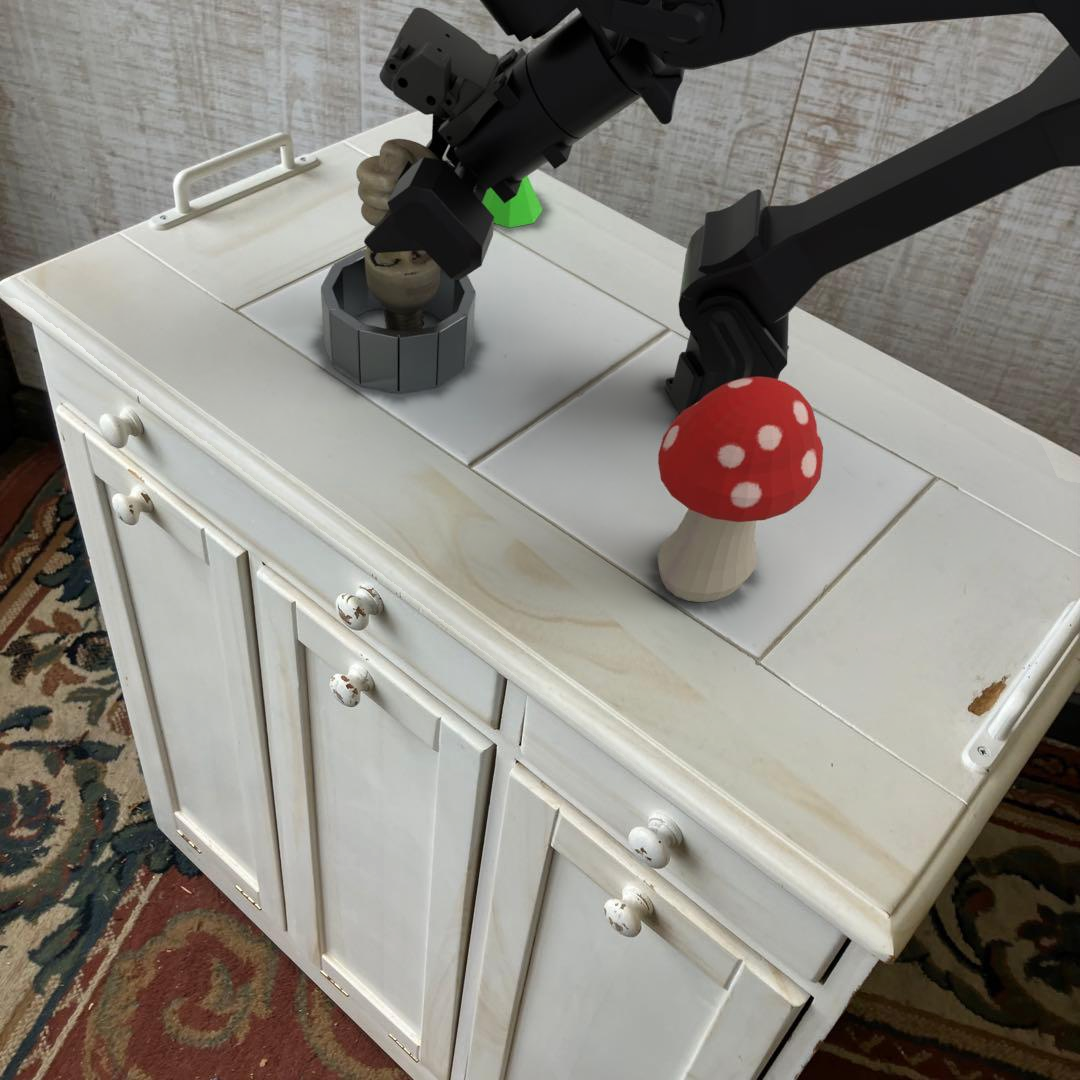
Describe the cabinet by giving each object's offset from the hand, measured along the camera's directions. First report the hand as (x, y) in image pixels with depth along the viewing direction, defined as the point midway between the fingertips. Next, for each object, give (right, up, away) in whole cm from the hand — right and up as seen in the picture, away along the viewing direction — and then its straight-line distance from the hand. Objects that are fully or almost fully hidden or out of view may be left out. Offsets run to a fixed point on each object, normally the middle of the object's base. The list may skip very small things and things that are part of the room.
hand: (380, 224), depth 73 cm
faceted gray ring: (0, -7, +7) cm, 10 cm away
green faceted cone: (+8, +7, +21) cm, 24 cm away
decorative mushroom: (+21, -23, -4) cm, 32 cm away
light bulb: (+1, -6, +7) cm, 9 cm away
